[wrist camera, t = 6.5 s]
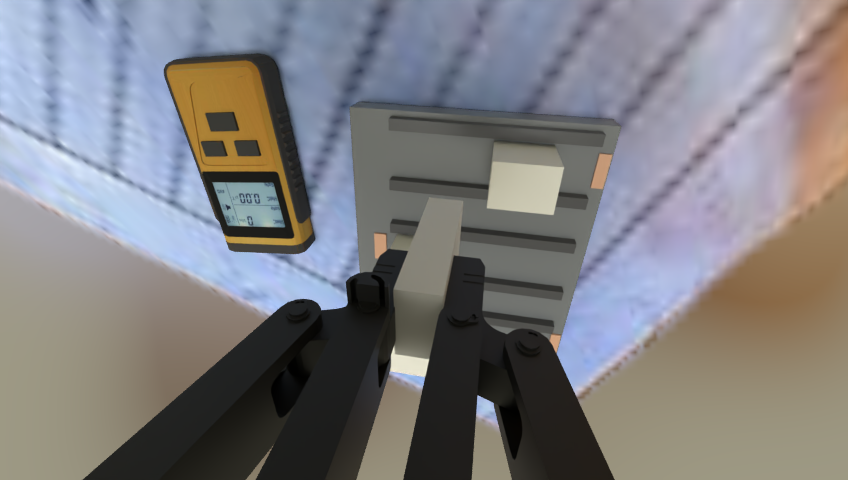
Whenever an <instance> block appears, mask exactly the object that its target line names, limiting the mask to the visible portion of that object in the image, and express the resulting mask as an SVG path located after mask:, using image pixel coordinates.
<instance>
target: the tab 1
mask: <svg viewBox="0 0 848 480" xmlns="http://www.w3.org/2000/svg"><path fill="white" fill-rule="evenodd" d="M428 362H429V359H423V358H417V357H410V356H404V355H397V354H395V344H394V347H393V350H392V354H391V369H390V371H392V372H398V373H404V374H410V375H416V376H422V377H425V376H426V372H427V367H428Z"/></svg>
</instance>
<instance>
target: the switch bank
mask: <svg viewBox="0 0 848 480" xmlns="http://www.w3.org/2000/svg"><path fill="white" fill-rule="evenodd" d="M350 122H351V138H352V154H353V170H354V186H355V202H356V218H357V234H358V250H359V266H360V273H363V272H372V271H373V268H374V266H375V265H376V262H377V260H378V258H379V256H380V255H381V254H382V253H384V252H385V251H386V250H388V249H390V248H391V246H392V244H393V242H394V240H395V238H396V236H397V234H407V235H415V233H416V230H417V228H418V225H419V222H420V220H421V217H422V215H423V212H424V210H425V207H426V205H427V202H428V199H429V197H430V198H440V199H450V200H461V201H463V210H462V222H461V233H460V245H459V255H458V256H463V257H472V258H480V259H481V261H482V262H483V264H484V266H485V279H484V293H483V308H482V313H483V317H484V319H485V321H486V322H487V323H488V324H489V325H490V326H491V327H493V328H494V329H496V330H498V331H500V332H503V333H505V334H508V333H510V332H511V331H513V330H516V329H521V328H524V329H532V330H534V331H537V332H540V333H541V334H543V335H544V336H545V337H547V338H548V340H549V341H550V342H551V344H552V345H553V347H554V350H555V352H556V354H557V350H558V347H559V343H560V340H561V336H562V333H563V329H564V326H565V322H566V319H567V315H568V312H569V308H570V305H571V301H572V298H573V294H574V291H575V287H576V284H577V280H578V277H579V273H580V270H581V266H582V263H583V259H584V256H585V252H586V249H587V245H588V242H589V238H590V235H591V231H592V228H593V224H594V221H595V217H596V214H597V210H598V207H599V203H600V200H601V196H602V193H603V189H604V186H605V182H606V179H607V175H608V172H609V168H610V165H611V161H612V158H613V154H614V150H615V147H616V143H617V140H618V136H619V133H620V129H621V126H620V125H619V124H618V123H617V122H616V121H615V120H614V119H600V118H585V117H571V116H556V115H542V114H528V113H513V112H499V111H484V110H470V109H455V108H441V107H426V106H412V105H398V104H383V103H369V102H358V103H356V104H354V105H352V106H350ZM494 141H507V142H519V143H532V144H544V145H555V147H556V149H557V151H558V154H559V156H560V159H561V161H562V164H563V166H564V170H563V175H562V179H561V184H560V188H559V193H558V197H557V202H556V206H555V211H554V215H547V214H537V213H528V212H518V211H509V210H499V209H489V208H487V201H488V190H489V179H490V171H491V163H492V155H493V147H494Z"/></svg>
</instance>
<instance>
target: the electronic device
mask: <svg viewBox="0 0 848 480" xmlns="http://www.w3.org/2000/svg"><path fill="white" fill-rule="evenodd" d="M164 76H165V80H166V82H167V85H168V88H169V91H170V93H171V96H172V99H173V102H174V104H175V107H176V110H177V113H178V115H179V118H180V121H181V124H182V126H183V129H184V132H185V135H186V137H187V140H188V143H189V146H190V148H191V151H192V154H193V157H194V159H195V162H196V165H197V168H198V170H199V173H200V176H201V179H202V181H203V184H204V187H205V190H206V192H207V195H208V198H209V201H210V203H211V206H212V209H213V212H214V214H215V217H216V219H217V220H218V221H219V222H220V225H221V227H222V230H223V233H224V236H225V239H226V242H227V245H228V248H229V250H231V251H234V252H256V253H281V254H299V253H302V252H305V251H306V250H307V249H308V248H309V247H310V246H311V244H312V243H313V242H314V240H315V238H314V234H313V230H312V226H311V222H310V209H309V204H308V199H307V195H306V191H305V186H304V182H303V178H302V173H301V169H300V164H299V160H298V156H297V151H296V147H295V143H294V138H293V134H292V129H291V125H290V121H289V116H288V112H287V108H286V103H285V99H284V94H283V90H282V86H281V81H280V77H279V73H278V68H277V66H276V64H275V62H274V61H273V60H272V59H271V58H270V57H268V56H266V55H262V54H244V55H228V56H212V57H196V58H184V59H176V60H173V61H171V62H169V63H168V64H166V66H165V68H164Z"/></svg>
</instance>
